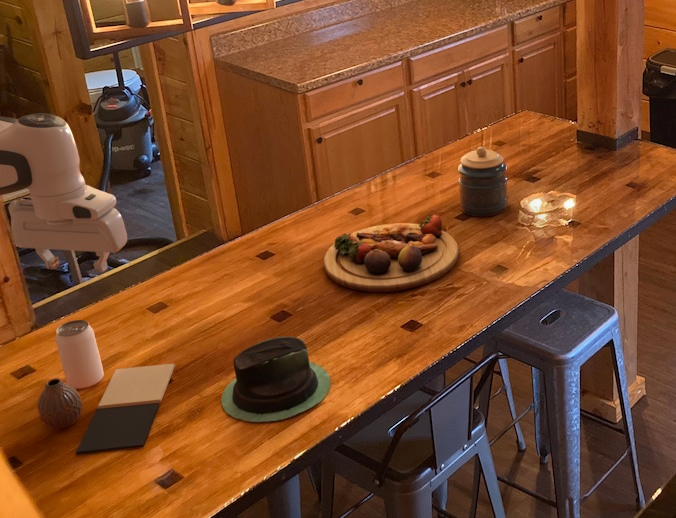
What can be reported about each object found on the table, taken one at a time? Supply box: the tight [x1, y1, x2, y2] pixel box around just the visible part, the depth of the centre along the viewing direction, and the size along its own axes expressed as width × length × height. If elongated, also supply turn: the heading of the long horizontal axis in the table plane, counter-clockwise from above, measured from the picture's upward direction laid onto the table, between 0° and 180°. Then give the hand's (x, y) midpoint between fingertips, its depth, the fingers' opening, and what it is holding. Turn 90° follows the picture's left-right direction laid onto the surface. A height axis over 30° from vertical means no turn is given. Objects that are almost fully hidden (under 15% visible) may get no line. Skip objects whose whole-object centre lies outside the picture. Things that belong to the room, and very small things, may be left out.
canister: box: [457, 146, 509, 218], centre depth 254 cm, size 13×13×18 cm
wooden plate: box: [322, 214, 460, 293], centre depth 228 cm, size 32×32×8 cm
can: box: [55, 319, 105, 390], centre depth 183 cm, size 6×6×12 cm
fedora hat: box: [220, 336, 332, 423], centre depth 181 cm, size 15×19×20 cm
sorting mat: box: [75, 363, 176, 455], centre depth 177 cm, size 11×25×1 cm, turn 10°
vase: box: [37, 377, 83, 430], centre depth 172 cm, size 7×7×9 cm
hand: (77, 268), depth 176 cm, fingers open, 8 cm apart
